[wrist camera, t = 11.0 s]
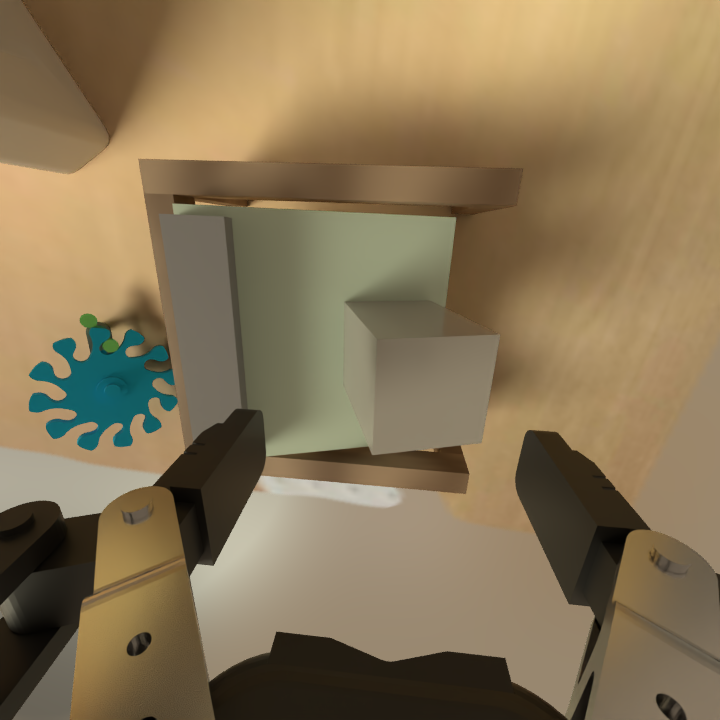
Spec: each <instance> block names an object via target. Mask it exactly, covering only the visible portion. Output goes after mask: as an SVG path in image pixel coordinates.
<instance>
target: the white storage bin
mask: <svg viewBox="0 0 720 720" xmlns="http://www.w3.org/2000/svg"><path fill="white" fill-rule="evenodd" d="M108 143H109V135H108V133H107V130H106V128H105V126H104V125H103V123H102V122H101V120H100V119H99V117H98V116H97V114H96V113H95V111H94V110H93V108H92V107H91V105H90V104H89V102H88V101H87V99H86V98H85V96H84V95H83V93H82V92H81V90H80V89H79V87H78V86H77V84H76V83H75V81H74V80H73V78H72V76H71V75H70V73H69V72H68V70H67V69H66V67H65V66H64V64H63V63H62V61H61V60H60V58H59V57H58V55H57V54H56V52H55V51H54V49H53V48H52V46H51V45H50V43H49V42H48V40H47V39H46V37H45V36H44V34H43V33H42V31H41V29H40V28H39V26H38V25H37V23H36V22H35V20H34V19H33V17H32V16H31V14H30V13H29V11H28V10H27V8H26V7H25V5H24V4H23V2H22V1H21V0H0V163H4V164H10V165H15V166H21V167H27V168H33V169H39V170H44V171H50V172H56V173H62V174H71V173H74V172H76V171H78V170H79V169H80V168H82V167H83V166H84V165H85V164H86V163H88V162H89V161H90V160H91V159H93V158H94V157H95V156H96V155H98V154H99V153H100V152H101V151H103V150H104V149H105V148H106V146H107V145H108Z"/></svg>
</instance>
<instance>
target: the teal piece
mask: <svg viewBox="0 0 720 720" xmlns="http://www.w3.org/2000/svg"><path fill="white" fill-rule="evenodd" d="M80 323H81V324H82V325H83V326H84V327H87V329H86V335H87V339H88V344H89V348H90V353H91V354H90V356H89V358H88V359H87V360H85V361H77V360H75V359H74V358H73V353H74V351H75V348H76V343H75V341H74V340H73V339H72V338H66V339H62V340H59V341H57V342H55V343H53V349H54V350H55V351H56V352H57V353H59V354H61V355H62V356H63V357H64V358H65V359H66V360H67V361H68V363H69V365H70V368H71V375H70V376H69V377H67V378H64V379H61V378H58V377H56V376H55V374H54V371H53V368H52V366H51V365H50V364H49V363H47V362H40V363H39V364H37V365H36V366H35V367H34V368H33V370H32V371H31V372H30V374H29V376H30V377H31V378H32V379H34V380H37V381H46V382H50V383H53V384H55V385H57V386H58V387H60V388H61V389H62V390H64V391H65V392H66V394H67V396H66V397H65V398H64V399H63V400H59V401H56V400H53V399H51V398H50V397H49V396H47V395H46V394H44V393H33V394H32V396H31V398H30V401H29V411H31V412H42V411H44V410H48V409H53V408H63V409H69V410H73V411H75V412H76V413H77V416H76V417H75V418H74V419H72V420H62V419H53V420H50V421H49V422H47V423H46V429H47V432H48V433H49V434H50V436H51V437H52V438H53V439H57V438H60V437H62V436H64V435H65V434H66V432H67V431H69V430H70V429H71V428H73V427H75V426H77V425H80V424H83V423H87V422H95V423H97V424H98V427H97V429H95V430H94V431H91V432H87V433H84V434H82V435H81V436H79V438H78V440H77V444H78V445H79V446H80V447H82V448H84V449H87V450H91V451H92V450H94V449H95V448H96V447H97V445H98V442H99V438H100V436H101V434H102V433H103V432H104V431H105V430H106V429H107V428H108V427H109V426H111V425H112V424H114V423H121V424H122V425H123V428H122V429H121V430H120V431H119V432H118V433H116V434H115V436H114V437H113V443H114V445H115V446H117V447H125V446H131V444H132V442H133V439H132V436H131V434H130V425H131V422H132V419H133V417H134V416H135V415H137V414H144V415H145V419H144V422H143V428H144V430H145V432H146V433H152V432H154V431H156V430H158V429H159V428H161V423H160V421H159V420H158V419H157V418H155V417H154V416H153V415H151V413H150V411H149V407H148V401H149V400H150V399H151V398H154V397H157V398H159V399H160V404H161V406H162V407H163V408H164V409H165V410H166V411H171V410H172V409H173V408H174V407H175V406H176V404H177V402H178V400H177V398H176V397H175V396H173V395H167V394H163V393H160V392H158V391H157V390H156V389H155V388H154V387H153V386H152V382H153V380H154V379H156V378H163V379H164V380H165V381H166V382H167V383H168V384H170V385H175V382H174V376H173V370H172V369H169V370H167V371H163V372H155V371H151V370H147V369H145V367H144V364H145V362H146V361H147V360H149V359H154V360H157V361H165V360H167V359H168V354H167V351H166V350H165V348H164V347H163V346H161V345H158V346H155V347H154V348H153V349H152V350H151V351H149V352H148V353H146V354H144V355H142V356H137V357H128V356H126V353H125V351H126V349H127V348H128V347H130V346H135V345H140V344H141V343H143V341H144V337H143V336H142V335H141V334H139V333H138V332H136V331H134V330H132V329H130V330H128V331H127V332H126V333H125V337H124V340H123V342H122V344H121V345H120V346H119V344H118V343H117V342H116V341H115V340H114V339H112V334H111V329H110V328H109V326H107V325H106V324H104V323H101V322H97V318H96V317H95V316H93V315H92V314H84V315H82V316H81V317H80Z"/></svg>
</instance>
